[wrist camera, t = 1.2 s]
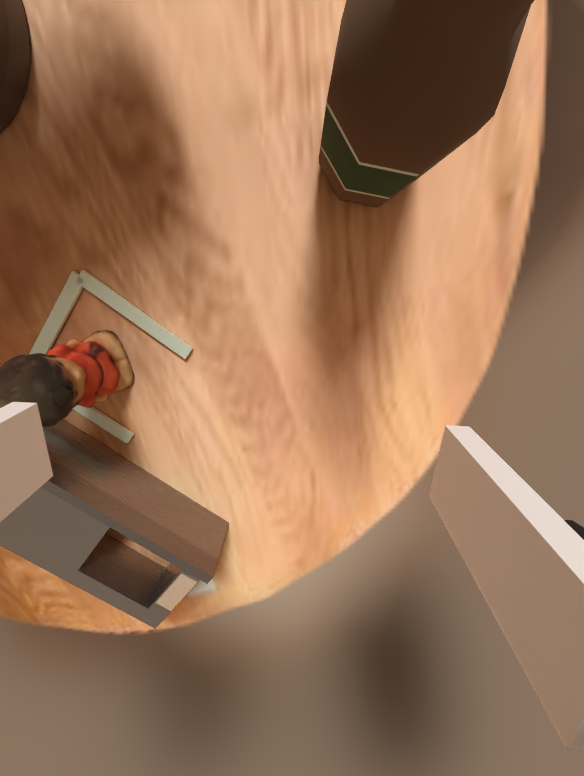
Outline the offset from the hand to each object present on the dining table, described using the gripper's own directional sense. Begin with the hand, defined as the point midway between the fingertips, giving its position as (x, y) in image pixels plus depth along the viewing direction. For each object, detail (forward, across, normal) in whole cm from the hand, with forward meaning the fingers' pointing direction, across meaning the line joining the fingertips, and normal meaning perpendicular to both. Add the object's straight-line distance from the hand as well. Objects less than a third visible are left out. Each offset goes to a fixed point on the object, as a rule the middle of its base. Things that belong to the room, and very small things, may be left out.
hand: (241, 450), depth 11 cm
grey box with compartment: (+20, -19, -19) cm, 33 cm away
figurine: (+21, -16, -4) cm, 26 cm away
